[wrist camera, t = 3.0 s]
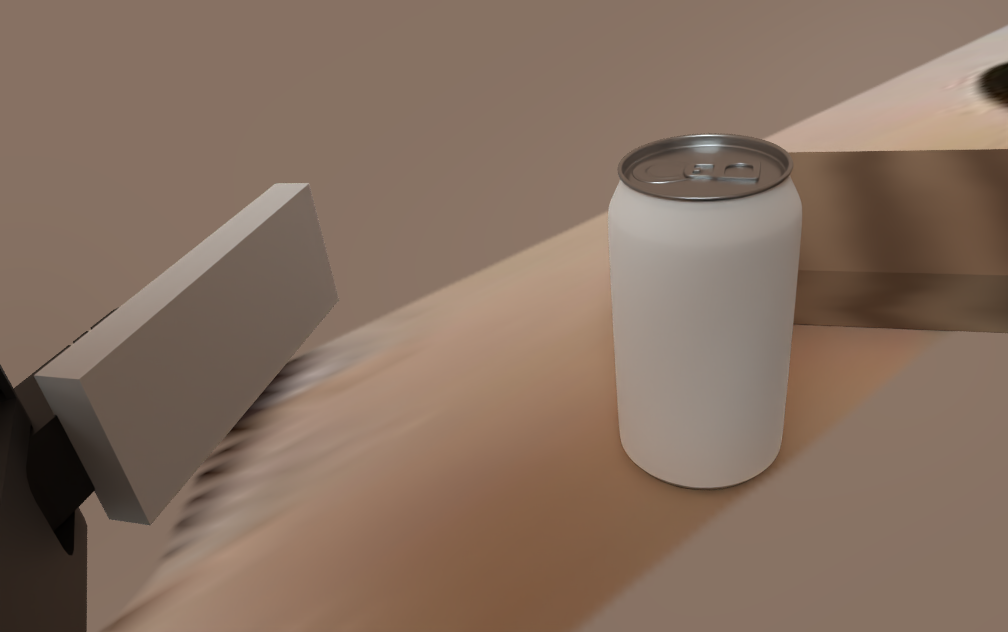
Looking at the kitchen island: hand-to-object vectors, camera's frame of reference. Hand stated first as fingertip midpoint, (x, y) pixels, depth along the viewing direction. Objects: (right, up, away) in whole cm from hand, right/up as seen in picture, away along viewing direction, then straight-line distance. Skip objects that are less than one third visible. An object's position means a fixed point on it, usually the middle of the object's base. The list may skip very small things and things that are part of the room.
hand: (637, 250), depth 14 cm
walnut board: (+18, +2, +28) cm, 34 cm away
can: (+6, -6, +18) cm, 20 cm away
